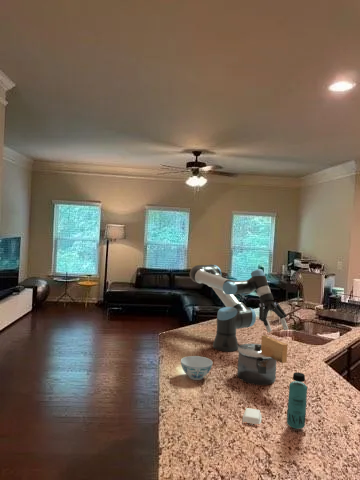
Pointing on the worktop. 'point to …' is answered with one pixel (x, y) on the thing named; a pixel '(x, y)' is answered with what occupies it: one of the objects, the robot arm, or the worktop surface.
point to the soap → (252, 416)
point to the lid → (265, 349)
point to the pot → (256, 370)
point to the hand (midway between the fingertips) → (278, 330)
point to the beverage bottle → (297, 402)
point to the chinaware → (196, 366)
